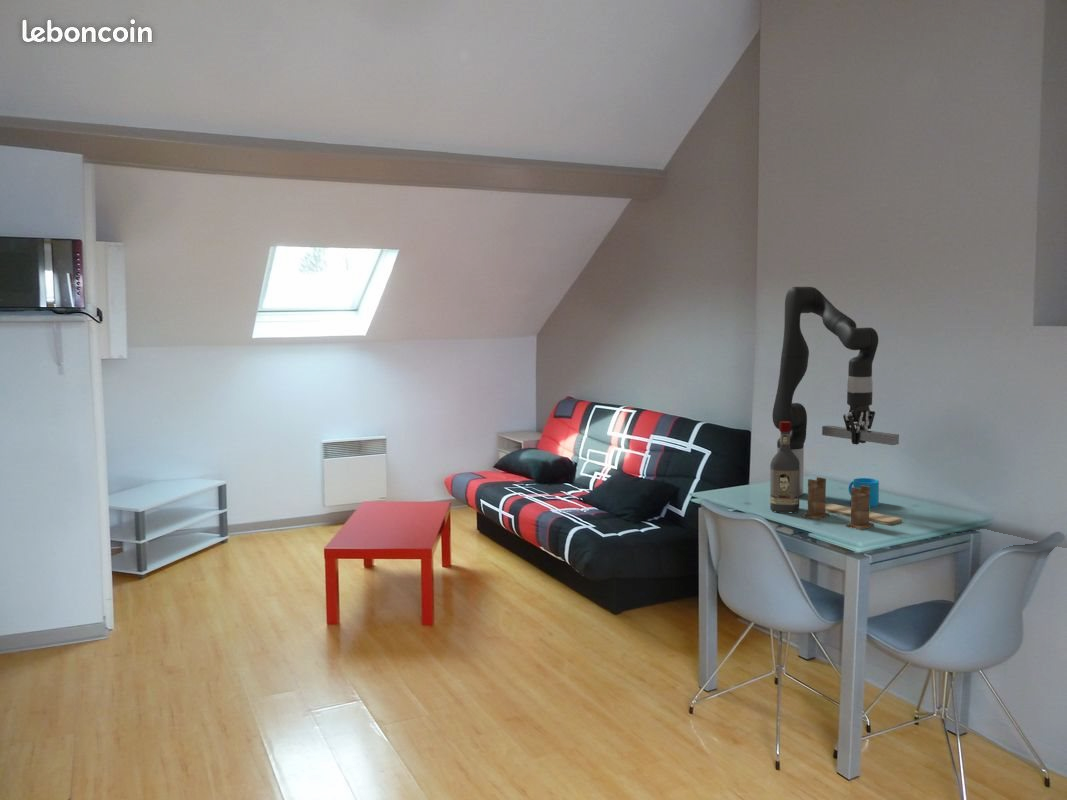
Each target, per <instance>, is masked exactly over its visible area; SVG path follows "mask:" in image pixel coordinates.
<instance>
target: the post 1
mask: <svg viewBox="0 0 1067 800" xmlns="http://www.w3.org/2000/svg"><path fill="white" fill-rule="evenodd" d="M826 487H827V478H824V477H819V476H817V477H816V479H811V478H808V479H807V513H803V516H805V517H804V518H807V517H809V518H808V519H811V518H813V519H812V520H816V519H817V520H819V518H820V519H823V518H822V517H824V518H827V517H826V516H828V517H830V516H831V513H830V512H826V511H825V505H827V504H826V498H827V497H826V496H827V495H826V494H827V493H826V491H827V490H826Z"/></svg>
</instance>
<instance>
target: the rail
mask: <svg viewBox="0 0 1067 800" xmlns="http://www.w3.org/2000/svg"><path fill="white" fill-rule="evenodd" d="M821 435H822V436H826V437H834V438H841V439H847V440H851V439H852V433H851V432H850V431H847V429H846V426H845V427H843V426H837V425H836V426H835V425H831V424H830V425H822V428H821ZM859 440H860V441H866V443H867V442H868V443H875V444H881V445H890V446H896V445H897V446H898V445H899V444H900V434H896V433H891V432H883V431H881V432H880V431H875V430H869V429H868V430H860V429H859Z"/></svg>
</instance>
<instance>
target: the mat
mask: <svg viewBox="0 0 1067 800" xmlns="http://www.w3.org/2000/svg"><path fill="white" fill-rule="evenodd" d="M826 511H827V512H826ZM825 512H826V513H831V512H832V514H835V513H836V515H840V514H841V516H844V515H845V516H844V517H849V516H850V517H849V518H851V506H850V507H849V506H845V505H840V504H835V503H829V504H825ZM869 522H870V523H877V524H882V525H885V526H893V525H896V524H899V523H903V518H901V517H897V516H891V515H886V514H882V513H879V512H878V513H877V512H873V511H869Z"/></svg>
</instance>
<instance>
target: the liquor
mask: <svg viewBox="0 0 1067 800" xmlns="http://www.w3.org/2000/svg"><path fill="white" fill-rule="evenodd" d="M778 430H779V432H780V450H779V451H778V453H777V452H776V454H775V455H774V456H773V457H772V459H771V462H770V464H769V465H770V466H769V467H770V469H769V470H770V471H769V472H770V475H769V476H770V479H769V481H770V482H769V485H770V487H769V489H770V490H769V492H770V493H769V496H770V497H769V498H770V499H769V501H770V502H769V505H770V506H769V507H770V511H771V510H772V511H771V512H773V511H776V512H775V513H777V512H797V513H798V512H799V510H800V496H799V478H800V462H799V459H798V458H797V457H796V456H795V455H794V453H793V452H792V451H791V447H790V431H791V422H789V421H781V422H780V429H778Z"/></svg>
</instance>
